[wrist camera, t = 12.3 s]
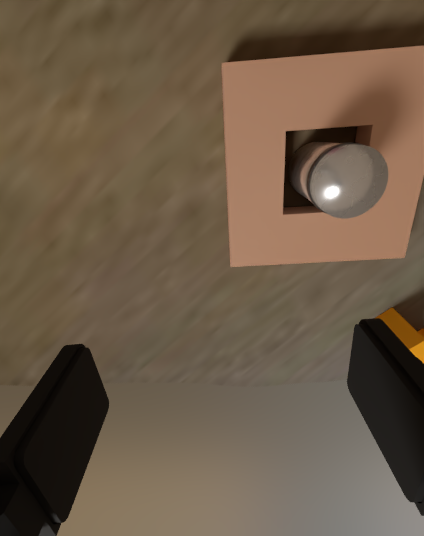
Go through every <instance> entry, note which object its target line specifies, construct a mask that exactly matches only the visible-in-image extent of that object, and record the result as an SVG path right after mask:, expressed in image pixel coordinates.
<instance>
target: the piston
mask: <svg viewBox="0 0 424 536" xmlns="http://www.w3.org/2000/svg"><path fill="white" fill-rule="evenodd" d="M288 178H289V182H290V184H291V186H292V187H293V188H294V189H295V190H296V191H297V192H298V193H300V194H301V195H303V196H304V197H305V198H307V199H308V200H309V201H311V202H312V203H313V204H314V205H315V206H316V207H317V208H318V209H319V210H321V211H322V212H324V213H326V214H329V215H331V216H333V217H336V218H342V219H347V218H353V217H357V216H359V215H361V214H363V213H365V212H367V211H368V210H370V209H371V208H372V207H373V206H374V205H375V204H376V203H377V202H378V201H379V200H380V198H381V197H382V195H383V193H384V191H385V189H386V186H387V182H388V166H387V163H386V161H385V159H384V157H383V156H382V155H381V154H380V153H379V152H378V151H377V150H376V149H374V148H372V147H369V146H366V145H362V144H359V143H331V142H311V143H308V144H306V145H304V146H302V147H301V148H299V149H298V150H297V151H296V152H295V154H294V155H293V157H292V158H291V160H290V163H289V166H288Z"/></svg>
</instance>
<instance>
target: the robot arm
mask: <svg viewBox="0 0 424 536" xmlns="http://www.w3.org/2000/svg"><path fill="white" fill-rule="evenodd" d="M347 384H348V389H349V391H350V393H351V395H352V397H353V399H354V401H355V403H356V404H357V407H358V408H359V410H360V412H361V414H362V416H363V418H364V420H365V422H366V424H367V425H368V427H369V429H370V431H371V433H372V435H373V437H374V439H375V440H376V442H377V444H378V446H379V448H380V450H381V451H382V454H383V455H384V457H385V459H386V461H387V463H388V464H389V467H390V469H391V470H392V472H393V474H394V476H395V478H396V480H397V482H398V484H399V486H400V487H401V489H402V491H403V493H404V495H405V496H406V498H407V499H408V500H409V501H410V502H414V503H415V504H416V506H417V508H418V510H419V512H420V514H421V515H422V516H424V363H423V362H422V361H421V360H420V359H418V358H417V357H415V356H414V354H413V353H412V352H411V351H410V350H409V349H408V348H407V347H406V346H405V345H404V343H403V342H402V341H401V340H400V339H399V338H398V337H397V336H396V335H395V334H394V332H393V331H392V330H391V329H390V328H389V327H388V326H387V325H386V324H385V323H384V321H383V320H381V319H380V318H374V319H362V320H361V321H360V322H359V324H356V325H355V327H354V334H353V342H352V349H351V357H350V364H349V372H348V379H347ZM108 408H109V400H108V397H107V394H106V391H105V389H104V387H103V383H102V381H101V378H100V376H99V373H98V370H97V368H96V365H95V362H94V360H93V357H92V354H91V352H90V349H89V348H85V346H84V345H83V344H74V345H66V346H64V347H63V348H62V349H61V351H60V352H59V354H58V355H57V357H56V358H55V360H54V361H53V362H52V364H51V365H50V367H49V368H48V370H47V371H46V373H45V374H44V375H43V377H42V378H41V380H40V381H39V383H38V384H37V386H36V387H35V389H34V390H33V391H32V393H31V394H30V396H29V397H28V399H27V400H26V401H25V403H24V404H23V406H22V407H21V409H20V410H19V412H18V413H17V415H16V416H15V417H14V419H13V420H12V422H11V423H10V425H9V426H8V428H7V429H6V430H5V432H4V433H3V435H2V436H1V438H0V536H56V535H57V533H58V530H59V528H60V525H61V523H62V522H65V521H66V519H67V518H68V516H69V513H70V511H71V508H72V505H73V503H74V500H75V497H76V495H77V492H78V489H79V486H80V484H81V481H82V479H83V476H84V473H85V470H86V468H87V465H88V463H89V460H90V457H91V455H92V452H93V449H94V446H95V444H96V441H97V438H98V436H99V433H100V430H101V428H102V425H103V422H104V419H105V417H106V414H107V412H108Z"/></svg>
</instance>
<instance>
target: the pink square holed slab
mask: <svg viewBox="0 0 424 536" xmlns="http://www.w3.org/2000/svg"><path fill="white" fill-rule="evenodd" d="M221 72H222V95H223V117H224V139H225V162H226V184H227V207H228V229H229V252H230V264H231V267H239V266H258V265H277V264H295V263H314V262H333V261H352V260H371V259H390V258H405V254H406V250H407V245H408V241H409V237H410V232H411V228H412V224H413V220H414V215H415V211H416V207H417V202H418V198H419V194H420V189H421V185H422V181H423V176H424V46H412V47H401V48H389V49H378V50H366V51H354V52H343V53H331V54H319V55H308V56H296V57H284V58H273V59H261V60H250V61H238V62H226V63H222V70H221ZM350 126H357V132H356V140H355V143H359V144H362V145H366V146H369V147H372V148H374V149H376V150H377V151H378V152H379V153H380V154H381V155H382V156H383V157H384V159H385V161H386V163H387V166H388V182H387V186H386V189H385V191H384V193H383V195H382V197H381V198H380V200H379V201H378V202H377V203H376V204H375V205H374V206H373V207H372V208H371V209H370V210H368V211H367V212H365V213H363V214H361V215H359V216H357V217H353V218H347V219H342V218H336V217H333V216H331V215H329V214H326V213H324V212H322V211H321V210H319V209H318V208H317V207H316V206H300V207H284V208H283V195H284V168H285V141H286V131H296V130H310V129H323V128H337V127H350Z"/></svg>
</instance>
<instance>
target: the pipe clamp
mask: <svg viewBox="0 0 424 536" xmlns="http://www.w3.org/2000/svg"><path fill="white" fill-rule="evenodd" d="M376 318H380V319H381V320H383V321H384V323H385V324H386V325H387V326H388V327H389V328H390V329H391V330H392V331H393V332H394V334H395V335H396V336H397V337H398V338H399V339H400V340H401V341H402V342H403V343H404V345H405V346H406V347H407V348H408V349H409V350H410V351H411V352H412V353H413V354H414V356H415V357H417V358H418V359H420V360H421V361H422V362H423V363H424V328H423V329H421V330H419V331H416V330H415V329H414V328H413V327H412V326H411V325H410V324H409V323H408V322H407V321H406V320H405V319H404V318H403V317H402V316H401V315H400V314H399V313H398V312H397V311H396V310H395V309H394V308H390V309H389V310H387V311H385V312H384V313H382V314H381V315H379V316H378V317H376Z"/></svg>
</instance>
